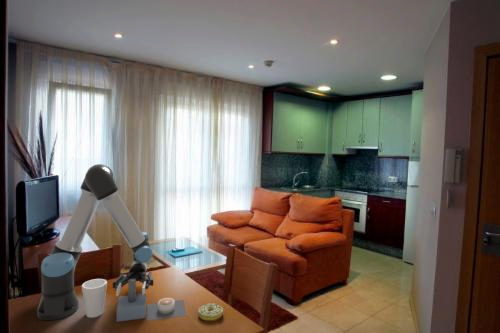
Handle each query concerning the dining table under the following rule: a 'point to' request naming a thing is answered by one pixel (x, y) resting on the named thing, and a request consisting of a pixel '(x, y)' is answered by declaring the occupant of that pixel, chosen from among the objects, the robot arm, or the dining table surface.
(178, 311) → the mat
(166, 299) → the bowl
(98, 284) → the foam cup
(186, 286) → the dining table surface
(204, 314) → the decorated donut
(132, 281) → the cover
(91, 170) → the robot arm
